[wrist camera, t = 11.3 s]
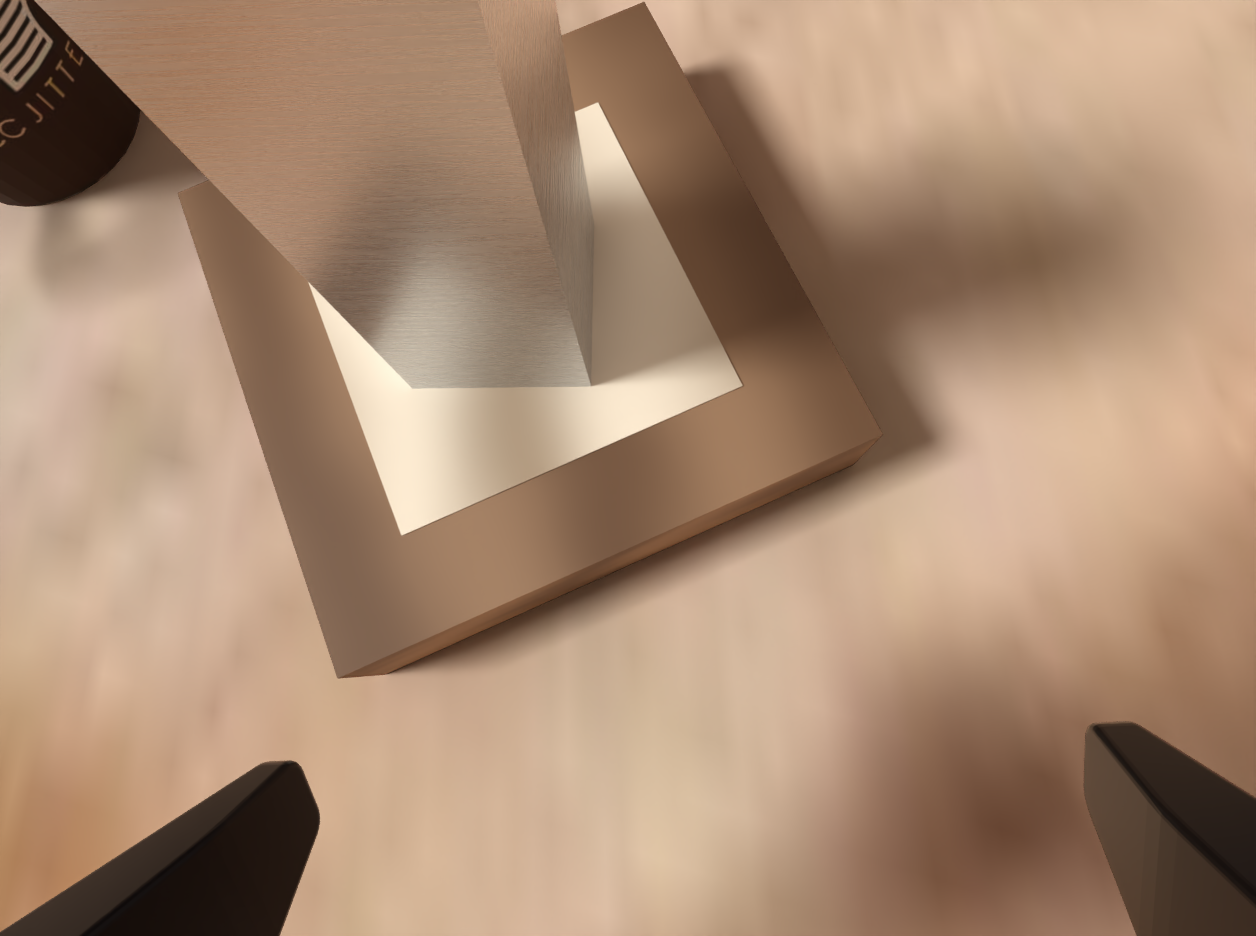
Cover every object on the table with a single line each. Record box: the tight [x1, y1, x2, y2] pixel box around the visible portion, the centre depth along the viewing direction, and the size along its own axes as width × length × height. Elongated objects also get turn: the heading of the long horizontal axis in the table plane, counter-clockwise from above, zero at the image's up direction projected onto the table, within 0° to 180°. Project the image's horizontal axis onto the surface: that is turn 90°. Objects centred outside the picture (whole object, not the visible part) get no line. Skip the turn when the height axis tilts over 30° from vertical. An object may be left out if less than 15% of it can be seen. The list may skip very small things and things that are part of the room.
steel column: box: [34, 0, 594, 389], centre depth 12 cm, size 5×5×15 cm
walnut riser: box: [178, 2, 883, 678], centre depth 21 cm, size 14×14×3 cm
